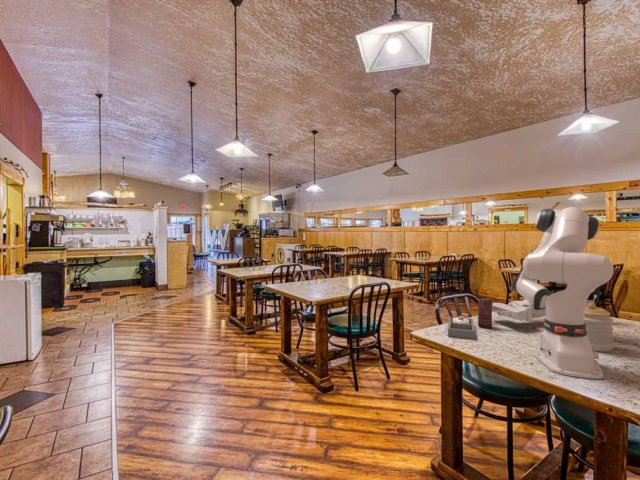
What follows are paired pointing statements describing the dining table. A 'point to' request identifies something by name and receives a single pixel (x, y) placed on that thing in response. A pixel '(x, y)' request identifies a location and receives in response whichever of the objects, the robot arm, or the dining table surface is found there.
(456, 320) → the cream knobbed oval piece
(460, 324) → the tray
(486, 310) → the can
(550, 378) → the dining table surface
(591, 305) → the jar
